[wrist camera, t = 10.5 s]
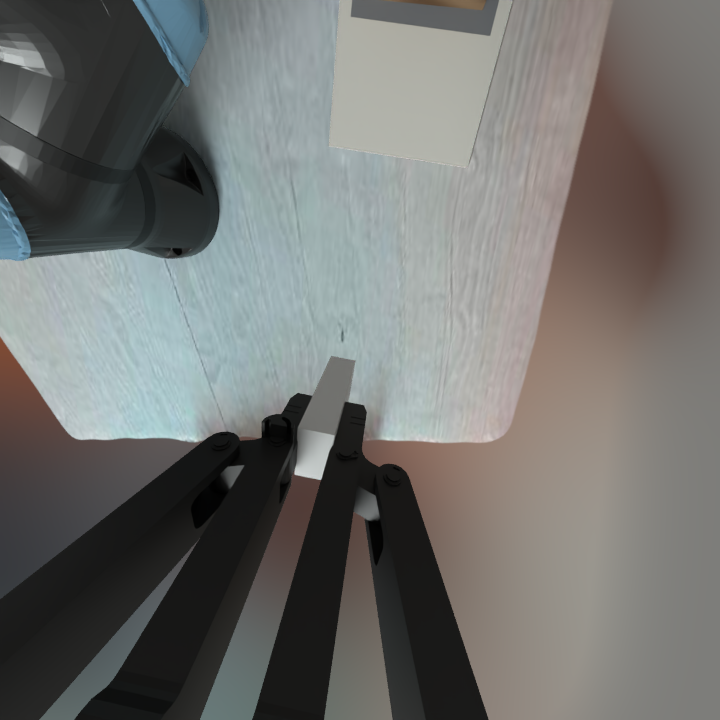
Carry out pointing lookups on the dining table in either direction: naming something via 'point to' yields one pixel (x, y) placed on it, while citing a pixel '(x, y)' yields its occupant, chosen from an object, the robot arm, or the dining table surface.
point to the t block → (449, 3)
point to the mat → (413, 77)
